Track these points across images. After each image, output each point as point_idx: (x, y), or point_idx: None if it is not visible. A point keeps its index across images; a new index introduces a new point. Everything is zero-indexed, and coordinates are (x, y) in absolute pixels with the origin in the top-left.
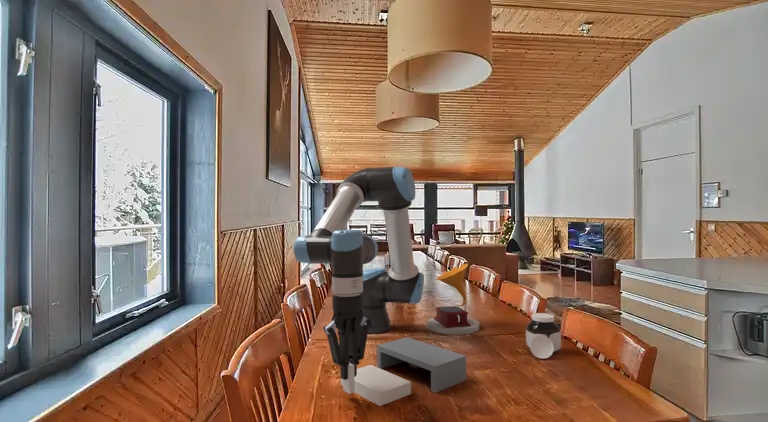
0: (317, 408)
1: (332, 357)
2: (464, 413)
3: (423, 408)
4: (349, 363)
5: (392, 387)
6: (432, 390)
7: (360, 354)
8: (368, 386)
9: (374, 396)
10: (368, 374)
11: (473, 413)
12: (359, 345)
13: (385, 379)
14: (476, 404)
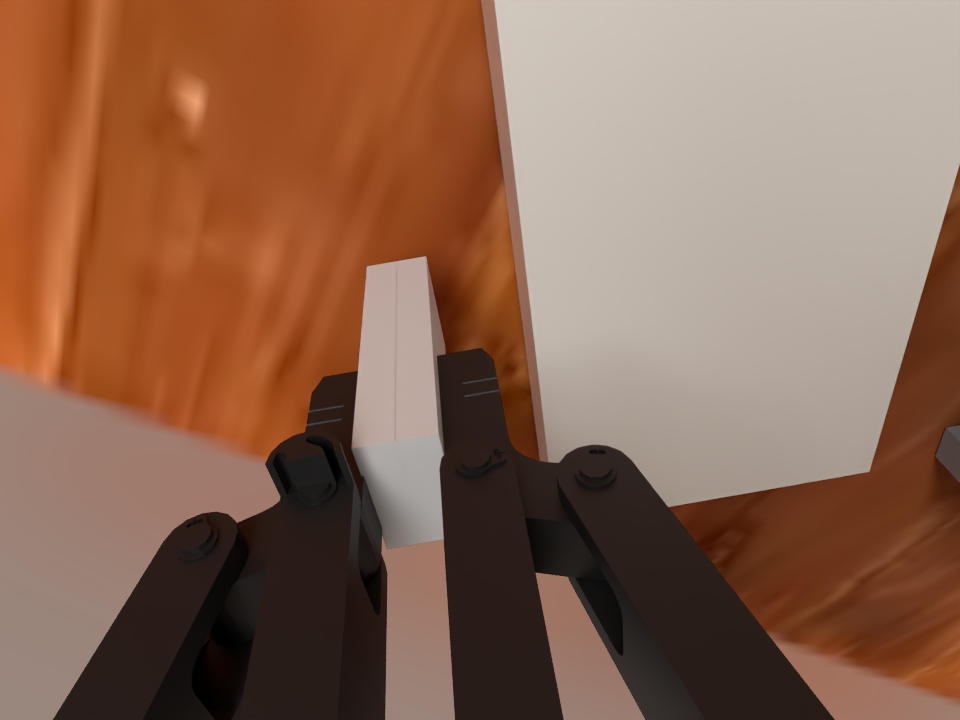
0: (102, 309)
1: (128, 615)
2: (809, 636)
3: (716, 556)
4: (434, 478)
5: (692, 492)
6: (946, 442)
7: (590, 609)
8: (556, 412)
9: (542, 452)
10: (748, 167)
11: (834, 645)
12: (646, 695)
13: (770, 358)
14: (927, 604)
